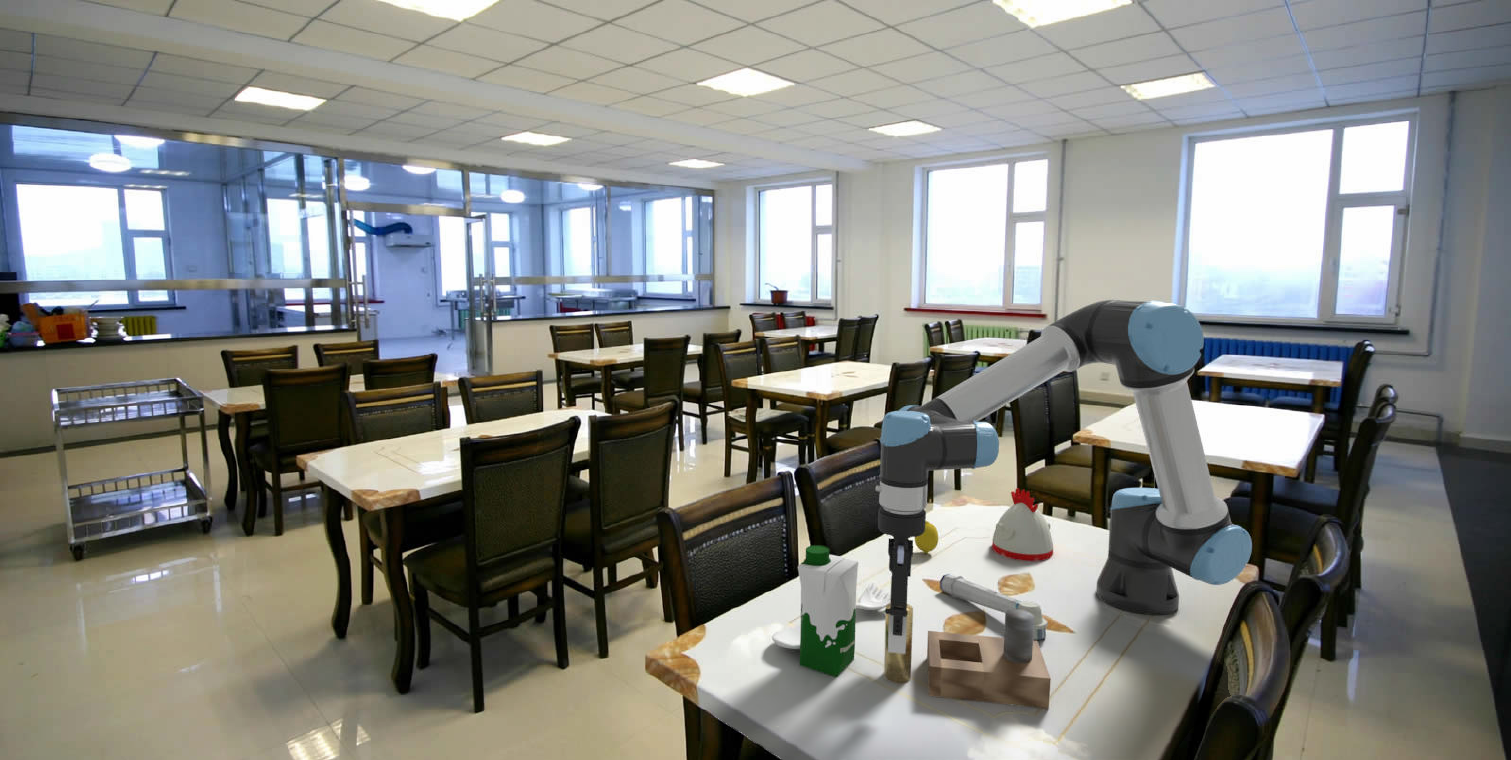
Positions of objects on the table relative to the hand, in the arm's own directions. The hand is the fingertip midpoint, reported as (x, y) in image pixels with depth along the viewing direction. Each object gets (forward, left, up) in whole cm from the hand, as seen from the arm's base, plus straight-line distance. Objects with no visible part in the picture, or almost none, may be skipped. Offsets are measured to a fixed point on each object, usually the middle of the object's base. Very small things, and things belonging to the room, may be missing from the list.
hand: (897, 631), depth 122 cm
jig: (-14, -1, -8) cm, 16 cm away
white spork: (+11, -15, -8) cm, 20 cm away
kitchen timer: (-29, -64, -8) cm, 71 cm away
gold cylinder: (0, 0, -8) cm, 8 cm away
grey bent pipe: (-18, -27, -8) cm, 34 cm away
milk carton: (+12, -2, -8) cm, 14 cm away
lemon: (-6, -57, -8) cm, 58 cm away
